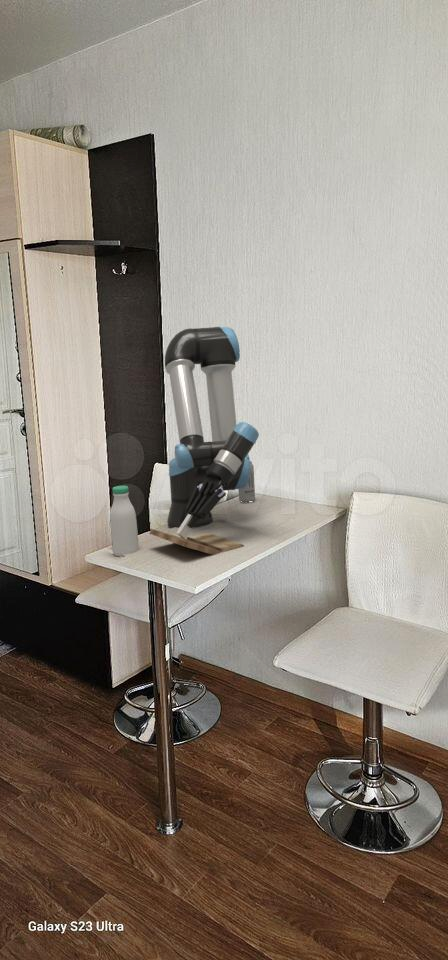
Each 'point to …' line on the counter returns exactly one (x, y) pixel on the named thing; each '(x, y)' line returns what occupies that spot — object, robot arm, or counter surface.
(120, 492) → the milk bottle
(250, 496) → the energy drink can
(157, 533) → the board
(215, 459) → the robot arm
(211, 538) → the laid floorboards
